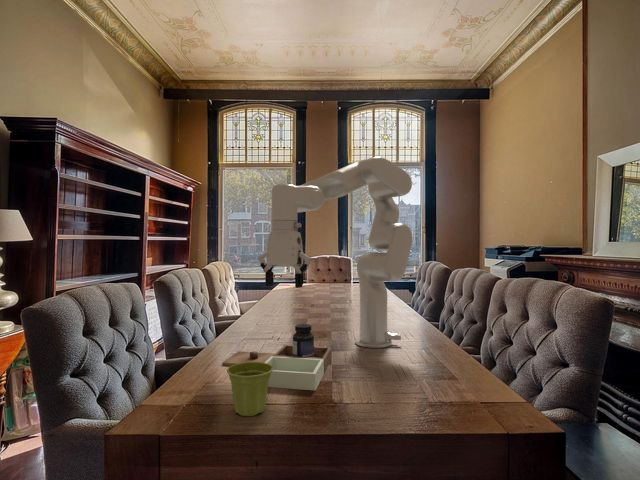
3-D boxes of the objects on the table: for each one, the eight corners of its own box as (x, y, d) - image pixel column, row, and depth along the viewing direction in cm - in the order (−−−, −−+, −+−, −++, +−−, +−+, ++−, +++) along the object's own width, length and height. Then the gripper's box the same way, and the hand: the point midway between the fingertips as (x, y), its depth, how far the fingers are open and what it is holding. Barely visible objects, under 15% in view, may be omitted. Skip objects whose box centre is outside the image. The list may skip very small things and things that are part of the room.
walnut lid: (283, 356, 115) (283, 348, 115) (271, 368, 104) (271, 359, 104) (238, 353, 118) (238, 346, 118) (222, 365, 107) (222, 356, 107)
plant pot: (230, 401, 82) (230, 361, 82) (273, 400, 83) (273, 360, 83) (222, 421, 73) (223, 376, 73) (271, 420, 73) (272, 375, 74)
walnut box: (331, 359, 113) (331, 347, 113) (324, 372, 101) (324, 358, 101) (284, 356, 115) (284, 345, 115) (272, 368, 104) (272, 356, 104)
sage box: (323, 374, 100) (323, 359, 100) (315, 390, 88) (315, 373, 88) (271, 370, 102) (271, 356, 102) (256, 386, 91) (256, 370, 91)
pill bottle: (316, 361, 110) (317, 324, 110) (309, 368, 104) (309, 328, 104) (297, 359, 112) (297, 322, 112) (289, 365, 106) (289, 326, 106)
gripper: (316, 227, 109) (316, 286, 108) (266, 228, 116) (265, 284, 115) (305, 226, 102) (304, 289, 101) (252, 227, 109) (251, 286, 109)
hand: (284, 286), depth 108 cm, fingers open, 9 cm apart
